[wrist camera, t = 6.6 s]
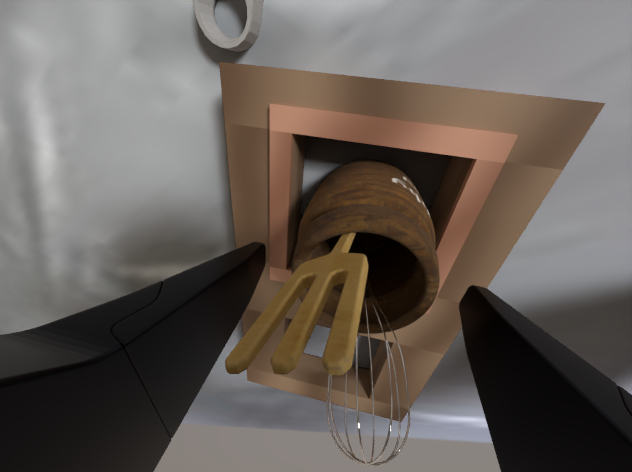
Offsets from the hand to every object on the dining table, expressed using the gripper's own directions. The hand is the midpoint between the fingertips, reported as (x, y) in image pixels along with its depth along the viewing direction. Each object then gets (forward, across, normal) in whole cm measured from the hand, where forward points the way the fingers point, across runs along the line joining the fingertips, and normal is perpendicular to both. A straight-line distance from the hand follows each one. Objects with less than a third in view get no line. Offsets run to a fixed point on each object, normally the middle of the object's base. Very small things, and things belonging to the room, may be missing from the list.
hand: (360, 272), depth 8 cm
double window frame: (+6, 0, +6) cm, 9 cm away
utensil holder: (+7, 0, 0) cm, 7 cm away
